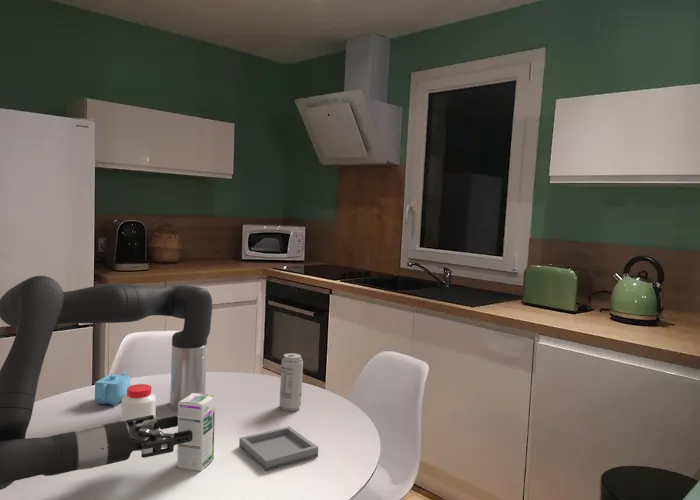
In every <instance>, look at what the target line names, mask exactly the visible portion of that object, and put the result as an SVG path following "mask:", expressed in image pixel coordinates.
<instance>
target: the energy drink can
mask: <svg viewBox="0 0 700 500" xmlns="http://www.w3.org/2000/svg"><path fill="white" fill-rule="evenodd" d="M303 366H304V361H303V358H302V354H300V353H297V352H296V353H294V352H293V353H291V352H290V353H284V354H283V358H282V359H281V365H280V388H279V389H280V390H279V406H280V408H281V409H282V410H283V411H286V412H294V411H297V410H299V409H300V407H301V405H302V395H303V394H302V392H303V391H302V388H303V375H304V374H303V371H304V369H303Z"/></svg>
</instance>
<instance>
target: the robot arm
mask: <svg viewBox="0 0 700 500" xmlns="http://www.w3.org/2000/svg"><path fill="white" fill-rule="evenodd" d="M212 314H213V299H212V294H211V293H210V291H208V289H206V288H204V287H200V286H193V285H187V284H180V285H172V286H161V287H160V286H159V287H153V286H146V285H140V284H139V285H138V284H130V283H128V284H126V283H107V284H99V285H94V286H90V287H84V288H79V289H76V290H67V291H64V290H63V288H62V286H61V285H60V283H58V281H56V280H55V279H54V278H52V277H50V276H46V275H35V276H31V277H29V278H26V279H24V280H23V281H21V282H19V283H18V284H16V285H14V286H13V287H11V288H10V289H8V290H7V291H6V292H5V293H4V294H3V295H2V296H1V298H0V319H1V321H3V322H4V323H5V324H7V325H8V326H10V327H12V328H15V329H17V330H16V335H15V337H14V340H13V342H12V345H11V348H10V349H9V352H8V354H7V356H6V357H5V360H4V361H3V364H2V365H1V368H0V491H1V490H5V489H6V488H8V487H9V486H10V485H12V484H13V483H14V482H15V481H20V480H21V481H22V480H23V479H29V478H34V477H38V476H45V477H48V476H49V477H51V476H56V475H61V474H66V473H71V472H74V471H80V470H88V469H94V468H99V467H103V466H107V465H113V464H115V463H121V462H124V461H127V460H128V459H130V457H131V454H132V453H133V452H136V451H141V455H140V456H141V458H144V459H145V458H149V457H154V456H161V455H165V454H169V453H173V452H174V447H175V446H176V445H177V446H178V444H182V443H186V442H190V441H192V431H191V430H186V431H182V432H178V431H176V432H174V433H164V431H162V430H167V429H170V428H176V427H178V415H172V416H166V417H158V416H156V418H154V415H149V416H144V417H140V418H135V419H130V420H126V421H121V420H120V421H114V422H108V423H104V424H97V425H94V426H89V427H85V428H81V429H78V430H73V431H68V432H63V433H58V434H54V435H53V434H52V435H49V436H45V437H43V436H42V437H29V438H26V435H27V431H28V427H29V426H30V422H31V419H32V416H33V412H34V406H35V400H36V396H37V395H36V394H37V389H38V384H39V379H40V375H41V371H42V369H43V364H44V361H45V357H46V354H47V351H48V347H49V345H50V341H51V339H52V336H53V333H54V331H55V328H56V326H57V325H58V326H59V325H63V324H65V325H66V324H103V323H104V324H116V323H117V324H118V323H132V322H139V321H140V320H142V319H145V318H148V317H150V316H164V317H173V318H177V319H181V320H182V319H183V320H184V322H183V329H181V330H180V331H176V332H175V333H173V335H172V337H171V363H170V364H171V365H170V366H171V368H170V369H171V370H170V395H169V396H170V397H169V407H170V408H171V409H172V410H174V411H178V402H180V401H181V400H183V399H185V398H186V397H188V396H190V394H192V393H198V394H206V379H207V378H206V377H207V357H208V356H207V355H208V354H207V353H208V352H207V349H208V338H209V335H210V333H211V325H212Z"/></svg>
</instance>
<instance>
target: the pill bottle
mask: <svg viewBox="0 0 700 500" xmlns="http://www.w3.org/2000/svg"><path fill="white" fill-rule="evenodd" d="M120 402H121V406H120V407H121V410H120V421H126V420H130V419H135V418H140V417H144V416H149V415H154V418H156V417H157V416H156V415H157V414H156V413H157V412H156V411H157V396H156V395H155V394H154V393H153V392H152V386H151V385H150V384H145V383H138V384H132V385H130V386H129V387H128V388H127V394H126V395H125V396H124V397H123V398H122V401H120Z"/></svg>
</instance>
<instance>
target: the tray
mask: <svg viewBox="0 0 700 500" xmlns="http://www.w3.org/2000/svg"><path fill="white" fill-rule="evenodd" d="M238 442H239V443H238V445H239V446H238V447H239V448H240V450H242V451H243V452H244V453H245V454H247V456H249V457H250V458H251V459H252V460H253V461H254V462H255V463H256V464H257V465H258V466H259V467H260V468H262V469H263V470H264V471H265V472H268V471H271V470H275V469H279V468H282V467H285V466H289V465H292V464H296V463H299V462H303V461H306V460H311V459H313V458H317V457H319V446H318V445H316V444H315V443H313V442H312V441H310V440H309V439H308V438H306V437H305V436H304V435H302V434H300V433H299V432H298V431H297V430H295V429H293V428H292V427H290V426H284V427H281V428H277V429H271V430H268V431H263V432H258V433H255V434H254V433H253V434H250V435H246V436H242V437H239V441H238Z"/></svg>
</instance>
